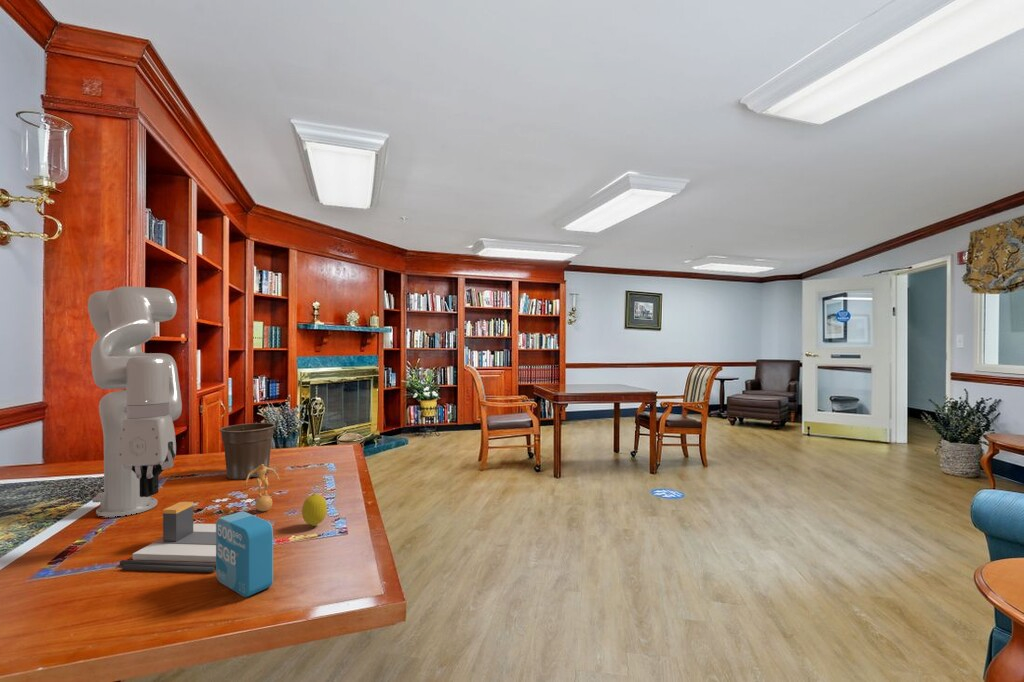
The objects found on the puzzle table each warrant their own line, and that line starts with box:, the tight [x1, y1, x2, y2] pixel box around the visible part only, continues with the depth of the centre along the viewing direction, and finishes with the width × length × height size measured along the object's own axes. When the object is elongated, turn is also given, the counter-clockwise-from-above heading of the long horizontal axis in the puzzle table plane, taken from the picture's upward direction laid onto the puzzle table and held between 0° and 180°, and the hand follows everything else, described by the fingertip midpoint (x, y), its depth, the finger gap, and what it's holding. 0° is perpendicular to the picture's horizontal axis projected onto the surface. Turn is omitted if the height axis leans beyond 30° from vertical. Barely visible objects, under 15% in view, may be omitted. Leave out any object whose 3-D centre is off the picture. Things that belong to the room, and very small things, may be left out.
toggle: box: [162, 501, 194, 541], centre depth 105 cm, size 3×5×7 cm, turn 176°
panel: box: [132, 522, 216, 563], centre depth 104 cm, size 20×16×1 cm
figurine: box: [244, 464, 280, 512], centre depth 125 cm, size 8×6×12 cm
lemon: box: [301, 492, 328, 527], centre depth 114 cm, size 6×6×8 cm
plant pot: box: [219, 422, 276, 481], centre depth 158 cm, size 16×16×16 cm
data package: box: [215, 510, 274, 598], centre depth 87 cm, size 12×4×12 cm, turn 55°
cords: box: [119, 559, 216, 574], centre depth 93 cm, size 20×3×1 cm, turn 86°
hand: (149, 495), depth 105 cm, fingers closed
